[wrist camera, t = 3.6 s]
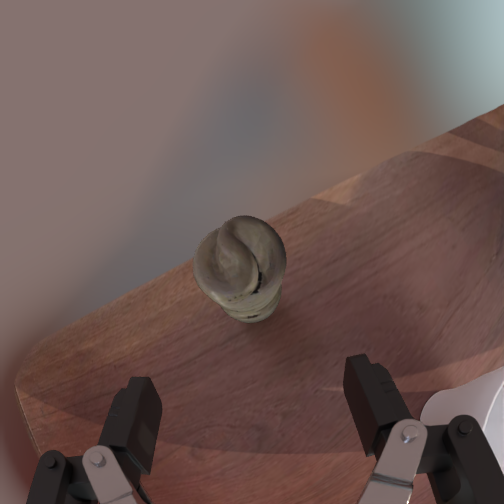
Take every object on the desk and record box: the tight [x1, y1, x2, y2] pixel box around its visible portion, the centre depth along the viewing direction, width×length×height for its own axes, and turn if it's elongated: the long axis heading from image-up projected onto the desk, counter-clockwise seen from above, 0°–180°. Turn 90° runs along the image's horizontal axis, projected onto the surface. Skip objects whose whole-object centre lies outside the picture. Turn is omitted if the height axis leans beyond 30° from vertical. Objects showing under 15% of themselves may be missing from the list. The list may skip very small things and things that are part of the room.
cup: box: [420, 366, 504, 474], centre depth 18 cm, size 10×10×14 cm
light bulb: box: [193, 216, 286, 323], centre depth 23 cm, size 6×6×15 cm
